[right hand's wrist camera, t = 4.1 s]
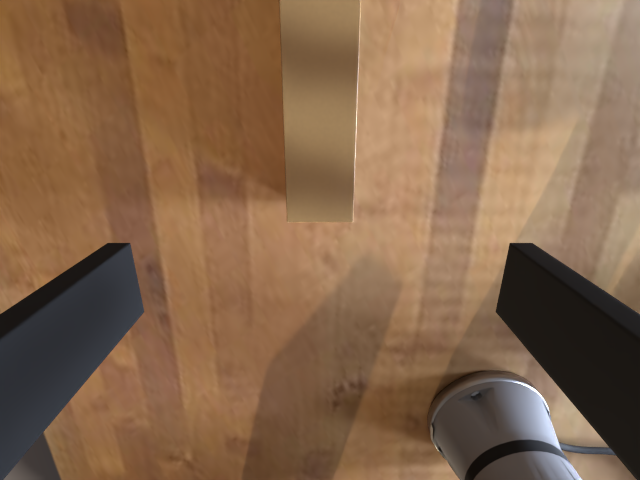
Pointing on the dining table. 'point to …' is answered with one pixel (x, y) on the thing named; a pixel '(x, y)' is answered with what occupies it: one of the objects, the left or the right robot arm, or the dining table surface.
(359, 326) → the dining table surface
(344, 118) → the post
